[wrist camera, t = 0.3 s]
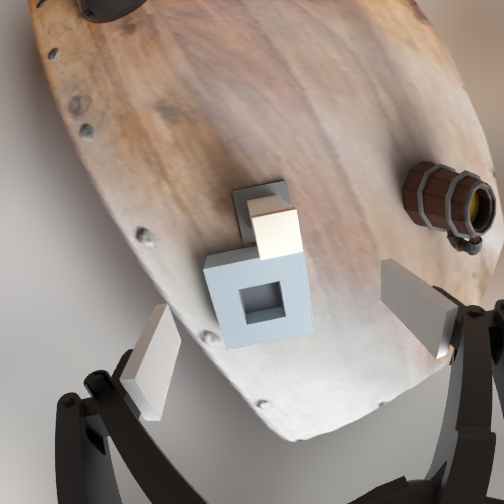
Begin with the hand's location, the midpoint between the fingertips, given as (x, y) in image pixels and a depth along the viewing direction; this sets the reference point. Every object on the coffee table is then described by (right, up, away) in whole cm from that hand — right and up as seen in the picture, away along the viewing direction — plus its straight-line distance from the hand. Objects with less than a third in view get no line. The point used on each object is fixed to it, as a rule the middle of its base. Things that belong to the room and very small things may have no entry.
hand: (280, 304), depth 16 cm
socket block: (0, -3, +29) cm, 29 cm away
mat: (0, +9, +26) cm, 27 cm away
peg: (0, +9, +25) cm, 26 cm away
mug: (+31, +12, +27) cm, 43 cm away
